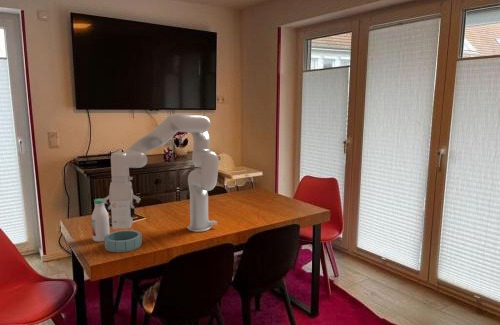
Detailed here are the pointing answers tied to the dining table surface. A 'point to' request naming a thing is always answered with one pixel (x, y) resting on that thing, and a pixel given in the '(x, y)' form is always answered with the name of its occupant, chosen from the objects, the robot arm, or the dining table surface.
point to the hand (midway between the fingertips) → (122, 216)
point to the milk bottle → (100, 221)
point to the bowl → (123, 241)
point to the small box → (121, 214)
